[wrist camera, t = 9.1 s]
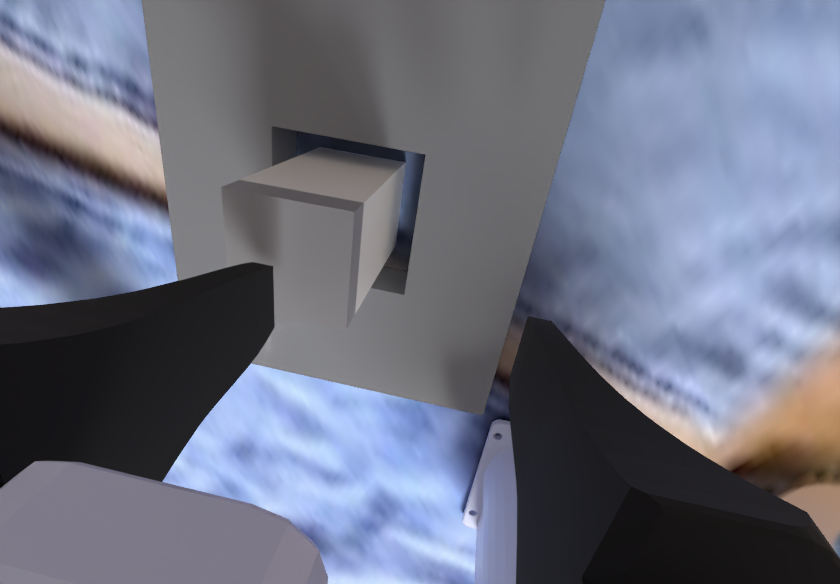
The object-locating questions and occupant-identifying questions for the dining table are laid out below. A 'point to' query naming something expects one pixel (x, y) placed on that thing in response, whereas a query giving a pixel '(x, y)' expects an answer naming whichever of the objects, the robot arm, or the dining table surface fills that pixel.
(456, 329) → the socket
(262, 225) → the plug
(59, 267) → the dining table surface
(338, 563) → the dining table surface
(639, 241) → the dining table surface
